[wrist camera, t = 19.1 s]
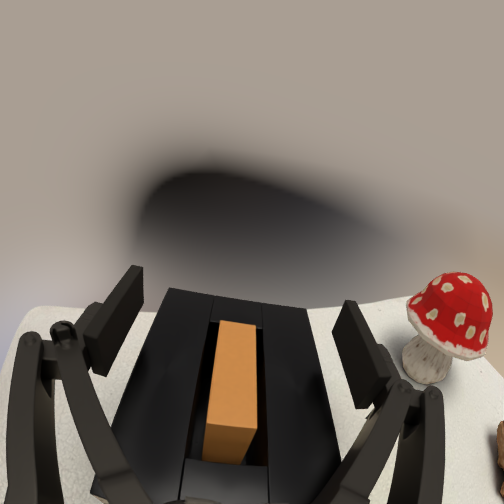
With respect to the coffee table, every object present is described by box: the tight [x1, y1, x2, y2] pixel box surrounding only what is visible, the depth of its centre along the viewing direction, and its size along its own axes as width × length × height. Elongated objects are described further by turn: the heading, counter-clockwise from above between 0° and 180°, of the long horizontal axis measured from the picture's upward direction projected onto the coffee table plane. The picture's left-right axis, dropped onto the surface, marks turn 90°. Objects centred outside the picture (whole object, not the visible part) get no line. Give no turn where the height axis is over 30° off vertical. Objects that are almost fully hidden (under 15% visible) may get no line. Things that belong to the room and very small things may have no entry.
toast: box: [202, 320, 257, 465], centre depth 16 cm, size 2×8×8 cm, turn 0°
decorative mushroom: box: [402, 272, 493, 385], centre depth 28 cm, size 14×14×15 cm
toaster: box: [90, 288, 341, 504], centre depth 17 cm, size 13×18×10 cm
